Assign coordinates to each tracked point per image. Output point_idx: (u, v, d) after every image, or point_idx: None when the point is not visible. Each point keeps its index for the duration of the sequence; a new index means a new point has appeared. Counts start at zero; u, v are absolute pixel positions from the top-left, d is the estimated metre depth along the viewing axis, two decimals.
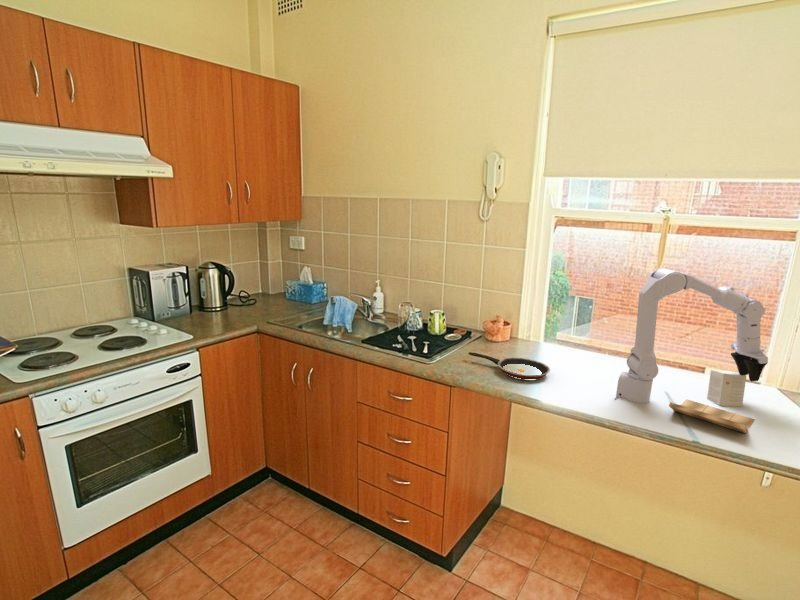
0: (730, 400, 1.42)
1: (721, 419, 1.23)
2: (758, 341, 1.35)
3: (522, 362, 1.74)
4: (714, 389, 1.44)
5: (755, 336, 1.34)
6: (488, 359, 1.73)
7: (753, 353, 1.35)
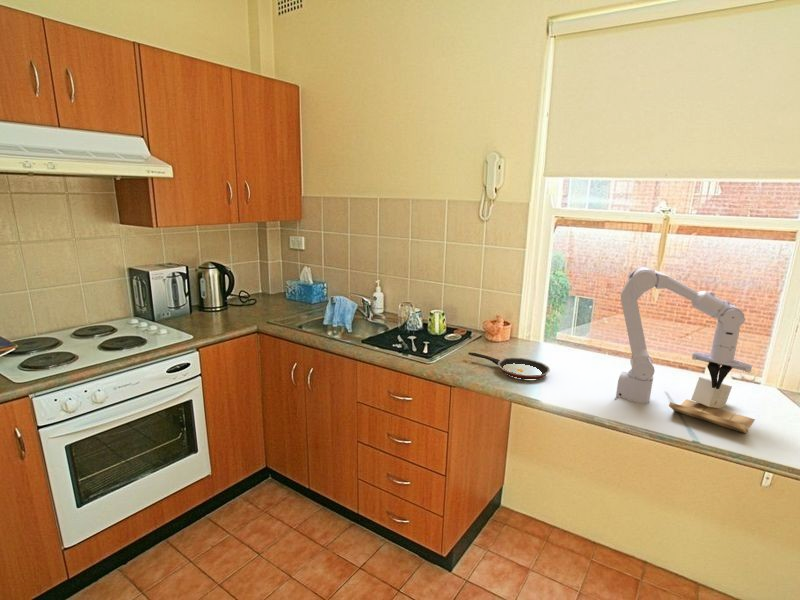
0: (724, 399, 1.41)
1: (721, 419, 1.23)
2: None
3: (522, 362, 1.74)
4: None
5: (728, 345, 1.30)
6: (488, 359, 1.73)
7: (733, 362, 1.31)
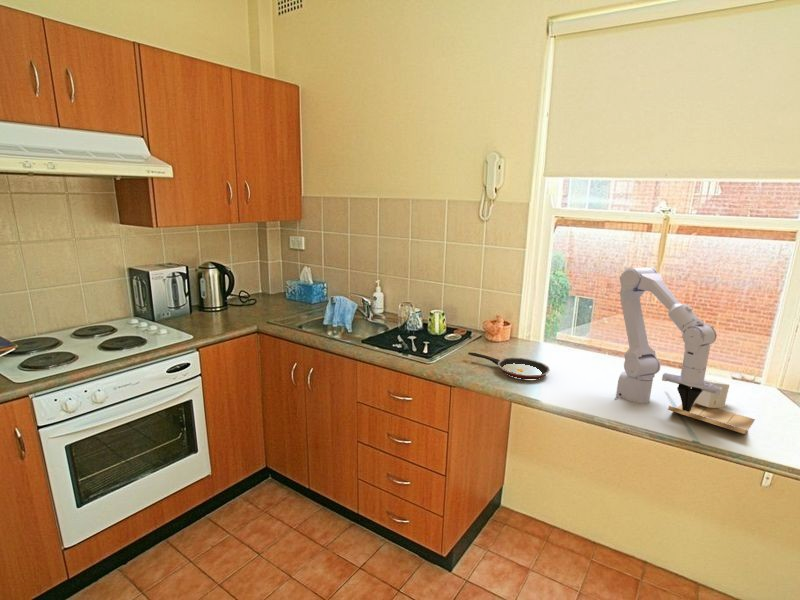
0: (723, 398, 1.41)
1: (720, 423, 1.23)
2: None
3: (522, 362, 1.74)
4: None
5: (689, 365, 1.26)
6: (488, 359, 1.73)
7: (703, 384, 1.26)
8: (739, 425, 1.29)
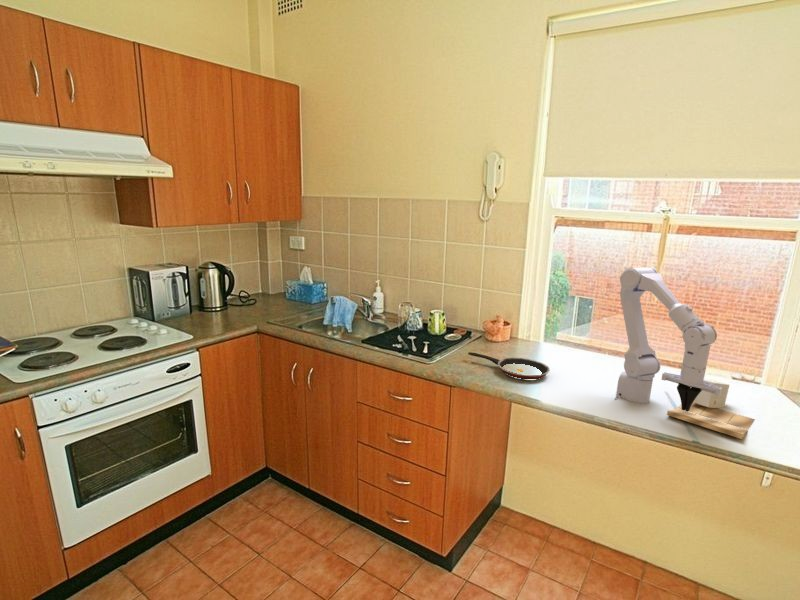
0: (723, 398, 1.41)
1: (719, 428, 1.23)
2: None
3: (522, 362, 1.74)
4: None
5: (688, 365, 1.26)
6: (488, 359, 1.73)
7: (702, 384, 1.26)
8: (739, 425, 1.29)
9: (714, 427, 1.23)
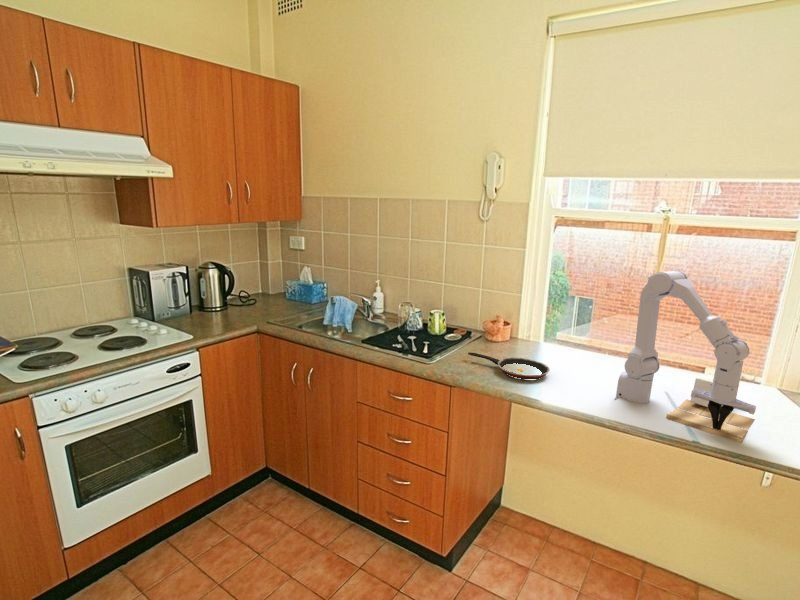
0: None
1: (718, 432, 1.23)
2: None
3: (522, 362, 1.74)
4: None
5: (722, 382, 1.20)
6: (488, 359, 1.73)
7: (735, 402, 1.21)
8: (739, 425, 1.29)
9: (713, 431, 1.23)
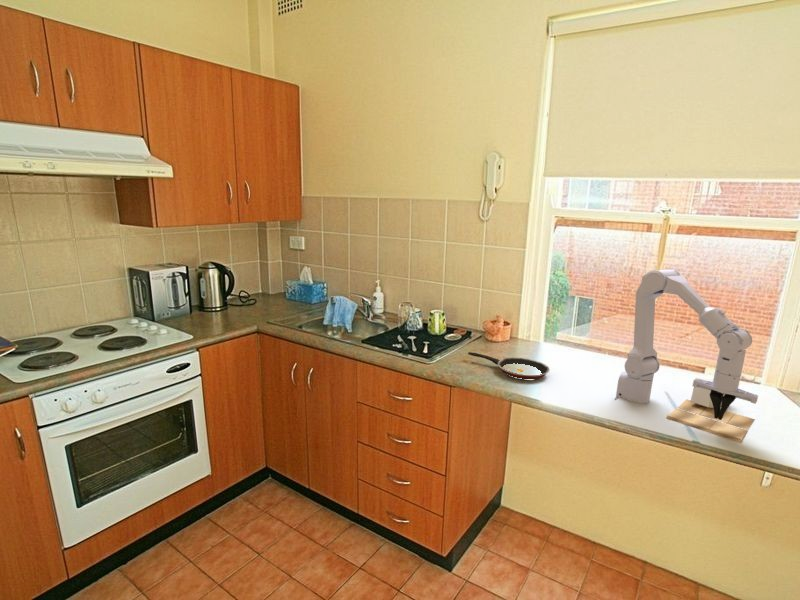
0: None
1: (717, 434, 1.23)
2: None
3: (522, 362, 1.74)
4: None
5: (724, 371, 1.20)
6: (488, 359, 1.73)
7: (737, 391, 1.20)
8: (739, 425, 1.29)
9: (713, 432, 1.24)
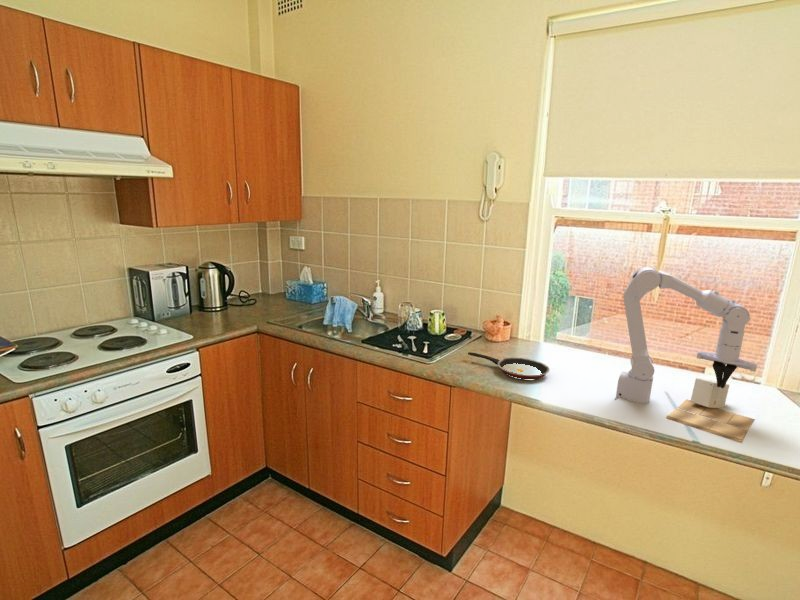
0: (723, 398, 1.41)
1: (717, 434, 1.23)
2: None
3: (521, 362, 1.74)
4: None
5: (733, 344, 1.29)
6: (488, 359, 1.73)
7: (738, 361, 1.30)
8: (739, 425, 1.29)
9: (713, 432, 1.24)
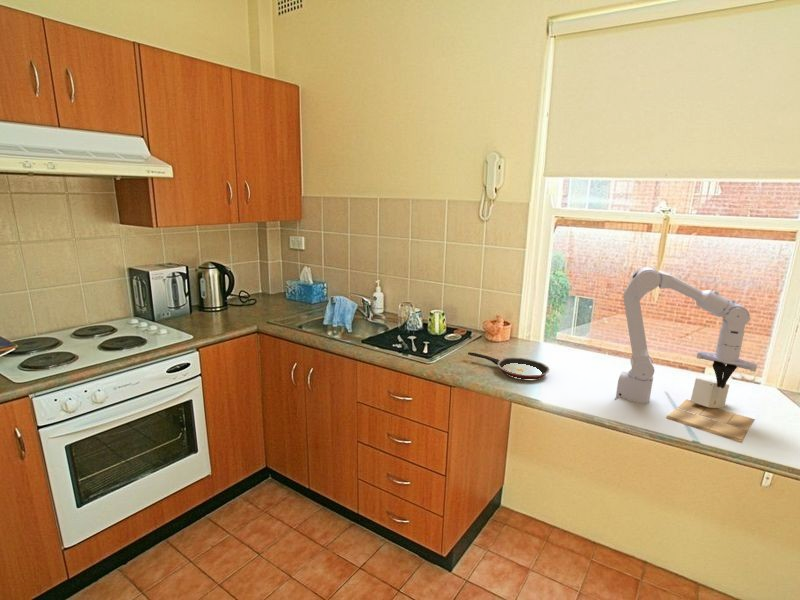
0: (723, 398, 1.41)
1: (717, 434, 1.23)
2: None
3: (521, 362, 1.74)
4: None
5: (733, 344, 1.29)
6: (488, 359, 1.73)
7: (738, 361, 1.30)
8: (739, 425, 1.29)
9: (713, 432, 1.24)
